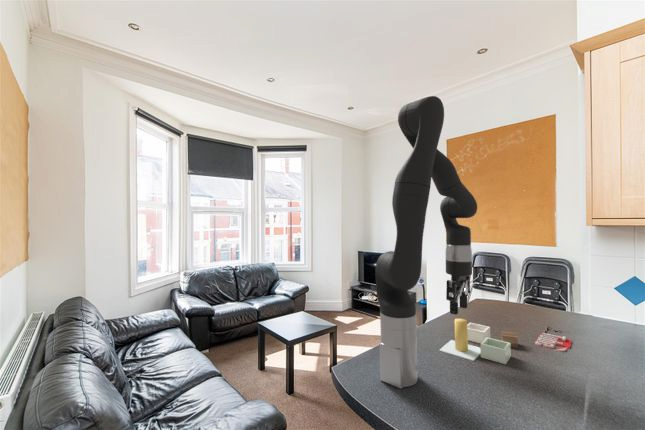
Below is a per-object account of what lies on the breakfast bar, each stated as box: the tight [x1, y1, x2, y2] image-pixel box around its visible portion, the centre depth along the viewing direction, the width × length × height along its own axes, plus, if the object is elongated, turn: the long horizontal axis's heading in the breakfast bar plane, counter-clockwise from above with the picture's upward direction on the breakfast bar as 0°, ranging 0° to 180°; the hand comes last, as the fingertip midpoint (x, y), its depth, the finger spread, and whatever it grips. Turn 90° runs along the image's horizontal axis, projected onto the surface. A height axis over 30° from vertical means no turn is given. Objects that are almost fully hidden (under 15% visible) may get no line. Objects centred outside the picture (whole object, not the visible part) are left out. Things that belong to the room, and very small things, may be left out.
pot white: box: [467, 322, 491, 344], centre depth 99 cm, size 6×6×4 cm
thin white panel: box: [439, 339, 481, 362], centre depth 91 cm, size 10×10×1 cm
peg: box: [454, 318, 469, 352], centre depth 91 cm, size 4×4×9 cm
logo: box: [534, 326, 573, 353], centre depth 99 cm, size 25×2×10 cm
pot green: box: [479, 337, 512, 365], centre depth 86 cm, size 6×6×4 cm
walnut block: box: [500, 330, 519, 349], centre depth 94 cm, size 4×4×4 cm
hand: (458, 310), depth 92 cm, fingers open, 8 cm apart
